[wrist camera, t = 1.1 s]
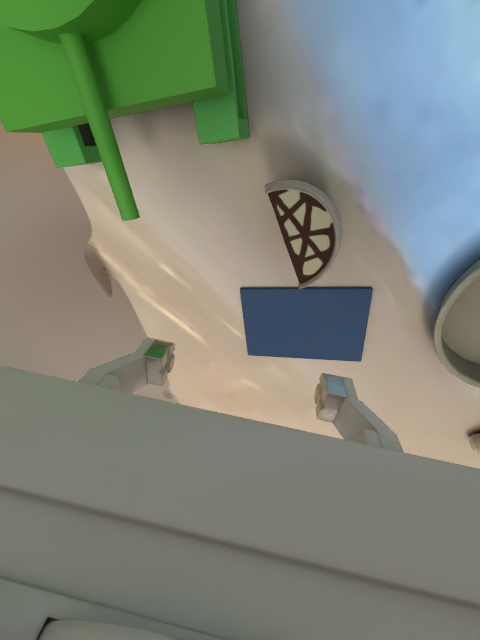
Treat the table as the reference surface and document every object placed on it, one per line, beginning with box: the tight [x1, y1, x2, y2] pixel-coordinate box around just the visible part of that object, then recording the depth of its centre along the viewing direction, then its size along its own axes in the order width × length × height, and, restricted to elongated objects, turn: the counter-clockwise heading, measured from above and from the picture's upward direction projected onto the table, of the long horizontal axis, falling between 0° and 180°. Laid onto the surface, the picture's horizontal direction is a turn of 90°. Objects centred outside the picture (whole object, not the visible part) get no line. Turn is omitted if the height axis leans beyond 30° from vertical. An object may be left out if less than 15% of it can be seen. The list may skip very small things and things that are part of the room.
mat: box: [240, 287, 373, 361], centre depth 46 cm, size 20×14×1 cm
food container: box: [265, 180, 342, 289], centre depth 33 cm, size 12×6×10 cm, turn 24°
